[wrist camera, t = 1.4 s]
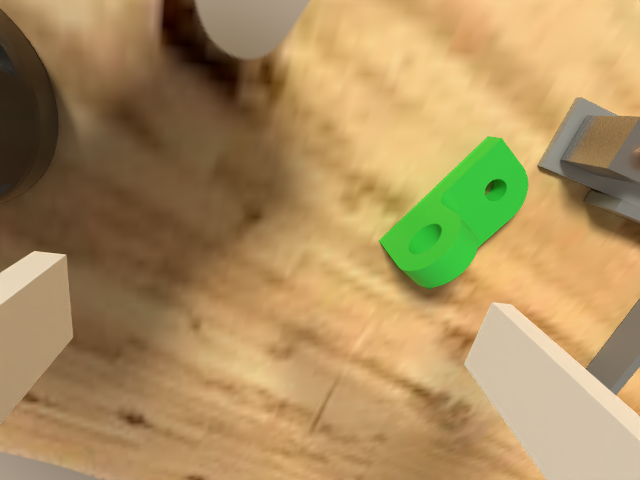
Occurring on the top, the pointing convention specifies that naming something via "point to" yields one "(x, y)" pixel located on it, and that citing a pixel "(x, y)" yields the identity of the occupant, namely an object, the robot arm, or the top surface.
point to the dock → (621, 199)
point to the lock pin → (607, 147)
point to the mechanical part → (458, 215)
